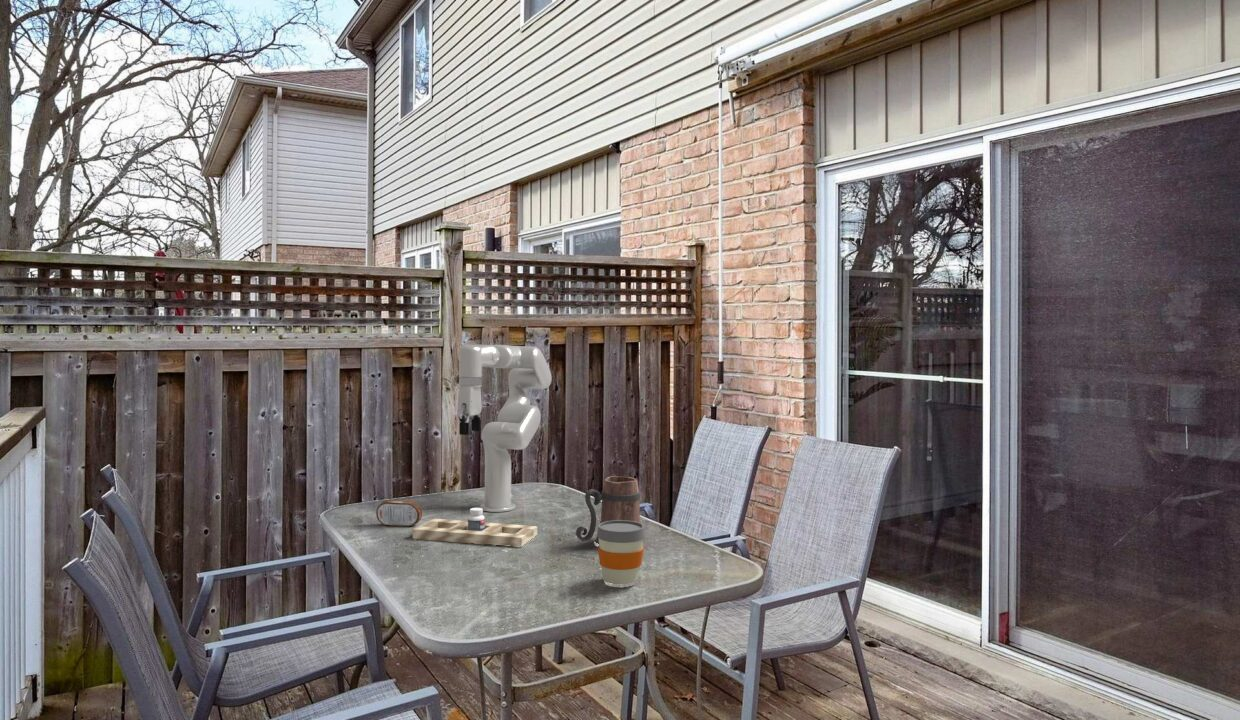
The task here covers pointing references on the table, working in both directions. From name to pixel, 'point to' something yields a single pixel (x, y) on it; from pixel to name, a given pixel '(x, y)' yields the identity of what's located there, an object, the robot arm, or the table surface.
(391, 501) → the tin
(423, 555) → the table surface
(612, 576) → the reusable coffee cup
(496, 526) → the wooden rack
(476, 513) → the pill bottle
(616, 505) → the tankard
